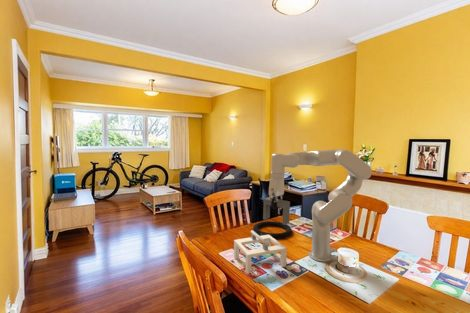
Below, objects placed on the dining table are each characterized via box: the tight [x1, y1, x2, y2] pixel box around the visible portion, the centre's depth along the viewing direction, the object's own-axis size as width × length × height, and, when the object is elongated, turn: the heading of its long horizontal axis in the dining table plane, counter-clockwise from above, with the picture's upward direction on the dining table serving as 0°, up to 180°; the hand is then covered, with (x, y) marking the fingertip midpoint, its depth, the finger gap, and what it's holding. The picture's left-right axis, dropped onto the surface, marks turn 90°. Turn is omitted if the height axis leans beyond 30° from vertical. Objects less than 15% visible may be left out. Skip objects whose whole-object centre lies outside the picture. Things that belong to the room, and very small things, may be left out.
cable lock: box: [252, 220, 293, 240], centre depth 176 cm, size 28×4×30 cm
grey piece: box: [262, 197, 291, 225], centre depth 140 cm, size 14×5×12 cm, turn 51°
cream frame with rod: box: [233, 229, 287, 275], centre depth 133 cm, size 22×19×14 cm
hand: (276, 207), depth 139 cm, fingers closed on grey piece, 5 cm apart
